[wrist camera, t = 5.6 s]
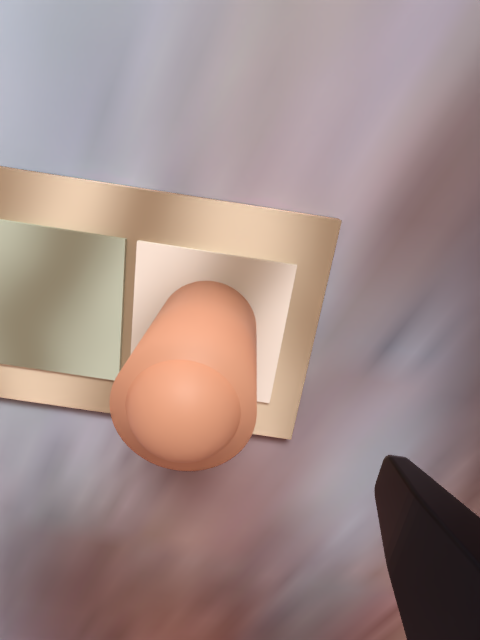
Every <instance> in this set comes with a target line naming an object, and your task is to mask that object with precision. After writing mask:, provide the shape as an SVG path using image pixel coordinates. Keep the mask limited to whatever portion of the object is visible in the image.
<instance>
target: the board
mask: <svg viewBox="0 0 480 640" xmlns="http://www.w3.org/2000/svg"><path fill="white" fill-rule="evenodd" d="M340 226H341V220H339V219H337V218H330V217H324V216H318V215H311V214H305V213H298V212H292V211H285V210H279V209H273V208H266V207H260V206H253V205H247V204H240V203H234V202H228V201H221V200H215V199H208V198H202V197H195V196H189V195H183V194H176V193H170V192H163V191H157V190H150V189H144V188H138V187H131V186H125V185H118V184H112V183H105V182H99V181H93V180H86V179H80V178H73V177H67V176H60V175H54V174H48V173H41V172H35V171H28V170H22V169H15V168H9V167H3V166H0V397H1V398H8V399H15V400H22V401H29V402H36V403H43V404H50V405H56V406H63V407H70V408H77V409H84V410H91V411H98V412H105V413H110V402H109V401H110V392H111V389H112V385H113V383H114V381H115V378H116V376H117V375H118V373H119V372H120V370H121V369H122V367H123V366H124V364H125V363H126V361H127V360H128V358H129V357H130V355H131V354H132V352H133V351H134V349H135V348H136V346H137V345H138V343H139V342H140V340H141V339H142V337H143V336H144V334H145V333H146V331H147V330H148V328H149V327H150V325H151V324H152V322H153V321H154V319H155V318H156V316H157V315H158V313H159V311H160V310H161V308H162V307H163V305H164V304H165V302H166V301H167V299H168V298H169V297H170V296H171V295H172V294H173V293H174V292H175V291H176V290H178V289H179V288H181V287H182V286H185V285H187V284H189V283H193V282H197V281H215V282H219V283H223V284H225V285H228V286H230V287H232V288H233V289H235V290H236V291H238V292H239V293H240V294H241V295H242V296H243V297H244V298H245V299H246V300H247V301H248V303H249V304H250V306H251V308H252V310H253V312H254V315H255V319H256V335H257V417H256V424H255V428H254V431H253V433H252V434H256V435H263V436H270V437H277V438H284V439H290V440H291V437H292V433H293V429H294V424H295V420H296V416H297V411H298V407H299V403H300V398H301V394H302V390H303V385H304V381H305V377H306V372H307V368H308V364H309V359H310V355H311V351H312V346H313V342H314V338H315V334H316V329H317V325H318V321H319V316H320V312H321V308H322V303H323V299H324V295H325V290H326V286H327V282H328V277H329V273H330V269H331V264H332V260H333V256H334V252H335V247H336V243H337V239H338V234H339V230H340Z"/></svg>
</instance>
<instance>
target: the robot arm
mask: <svg viewBox="0 0 480 640" xmlns="http://www.w3.org/2000/svg"><path fill="white" fill-rule="evenodd" d="M375 500H376V506H377V512H378V518H379V524H380V529H381V535H382V541H383V547H384V553H385V558H386V563H387V568H388V572H389V576H390V580H391V583H392V587H393V591H394V594H395V598H396V601H397V605H398V608H399V612H400V616H401V619H402V623H403V626H404V630H405V634H406V637H407V640H480V517H478V516H477V515H476V514H475V513H473V512H472V511H471V510H470V509H469V508H467V507H466V506H465V505H464V504H462V503H461V502H460V501H459V500H458V499H456V498H455V497H454V496H453V495H451V494H450V493H449V492H448V491H447V490H445V489H444V488H443V487H442V486H441V485H439V484H438V483H437V482H436V481H434V480H433V479H432V478H431V477H430V476H428V475H427V474H426V473H425V472H423V471H422V470H421V469H420V468H419V467H417V466H416V465H415V464H414V463H412V462H411V461H410V460H409V459H407V458H406V457H401V456H394V455H388V456H386V457H385V458H384V460H383V463H382V466H381V469H380V472H379V475H378V478H377V481H376V484H375Z"/></svg>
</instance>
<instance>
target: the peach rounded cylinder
mask: <svg viewBox="0 0 480 640" xmlns="http://www.w3.org/2000/svg"><path fill="white" fill-rule="evenodd" d="M109 402H110V413H111V418H112V421H113V424H114V426H115V428H116V430H117V432H118V434H119V435H120V437H121V438H122V440H123V441H124V442H125V443H126V444H127V446H128V447H129V448H131V449H132V450H133V451H134V452H135V453H136V454H138V455H139V456H141V457H142V458H144V459H145V460H147V461H149V462H151V463H153V464H156V465H158V466H161V467H164V468H167V469H172V470H179V471H198V470H205V469H209V468H213V467H215V466H218V465H221V464H223V463H225V462H227V461H228V460H230V459H231V458H233V457H234V456H235V455H237V454H238V453H239V452H240V451H241V450H242V449H243V448H244V446H245V445H246V444H247V442H248V441H249V439H250V438H251V435H252V433H253V431H254V428H255V424H256V417H257V335H256V319H255V315H254V312H253V310H252V308H251V306H250V304H249V303H248V301H247V300H246V299H245V298H244V297H243V296H242V295H241V294H240V293H239V292H238V291H236V290H235V289H233V288H232V287H230V286H228V285H225V284H223V283H219V282H215V281H197V282H193V283H189V284H187V285H185V286H182V287H181V288H179V289H178V290H176V291H175V292H174V293H173V294H172V295H171V296H170V297H169V298H168V299H167V301H166V302H165V304H164V305H163V307H162V308H161V310H160V311H159V313H158V315H157V316H156V318H155V319H154V321H153V322H152V324H151V325H150V327H149V328H148V330H147V331H146V333H145V334H144V336H143V337H142V339H141V340H140V342H139V343H138V345H137V346H136V348H135V349H134V351H133V352H132V354H131V355H130V357H129V358H128V360H127V361H126V363H125V364H124V366H123V367H122V369H121V370H120V372H119V373H118V375H117V376H116V378H115V381H114V383H113V385H112V389H111V392H110V401H109Z"/></svg>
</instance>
